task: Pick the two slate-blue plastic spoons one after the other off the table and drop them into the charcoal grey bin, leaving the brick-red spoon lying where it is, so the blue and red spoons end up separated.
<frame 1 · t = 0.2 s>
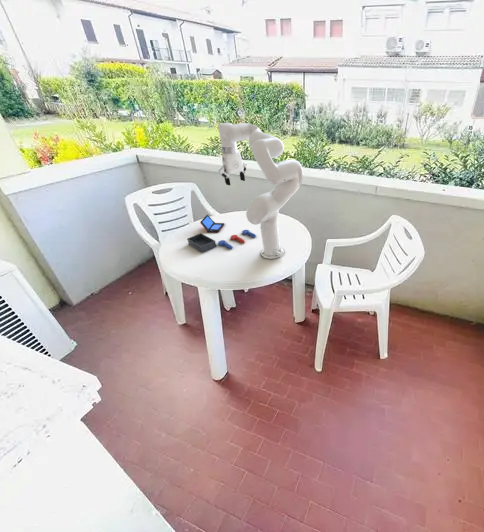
hand: (235, 182, 155), 37 cm above the table, tool pointing down, fingers open, 9 cm apart
blue spoon 2: (251, 235, 180), on the table
red spoon: (240, 241, 175), on the table
handheld console: (213, 228, 189), on the table
bin: (202, 245, 170), on the table
blue spoon 1: (227, 247, 169), on the table
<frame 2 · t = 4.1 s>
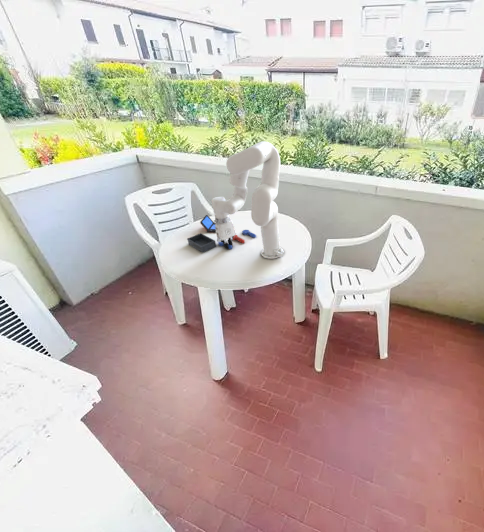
hand: (228, 247, 168), 0 cm above the table, tool pointing down, fingers closed on blue spoon 1, 2 cm apart
blue spoon 1: (227, 247, 169), on the table, touching gripper
everything else where it was.
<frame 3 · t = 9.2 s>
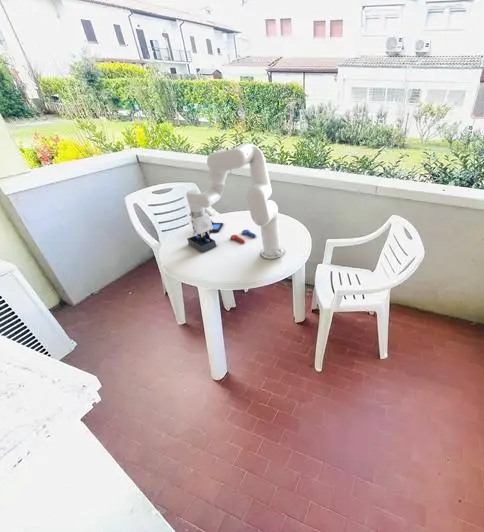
hand: (206, 241, 168), 3 cm above the table, tool pointing down, fingers closed on blue spoon 1
blue spoon 1: (205, 241, 169), point 3 cm above the table, touching gripper
everything else where it was.
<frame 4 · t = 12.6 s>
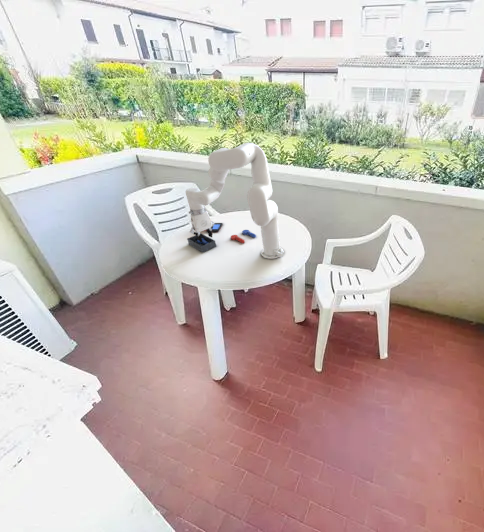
hand: (205, 238, 167), 5 cm above the table, tool pointing down, fingers open, 6 cm apart
blue spoon 1: (206, 244, 170), resting on bin
everything else where it was.
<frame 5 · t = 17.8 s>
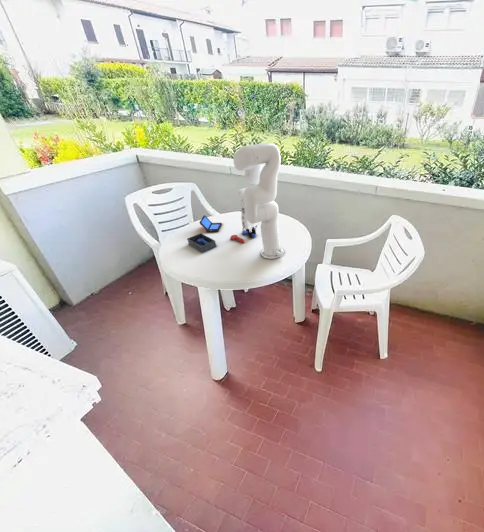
hand: (252, 235, 180), 0 cm above the table, tool pointing down, fingers closed on blue spoon 2, 2 cm apart
blue spoon 2: (251, 235, 180), on the table, touching gripper
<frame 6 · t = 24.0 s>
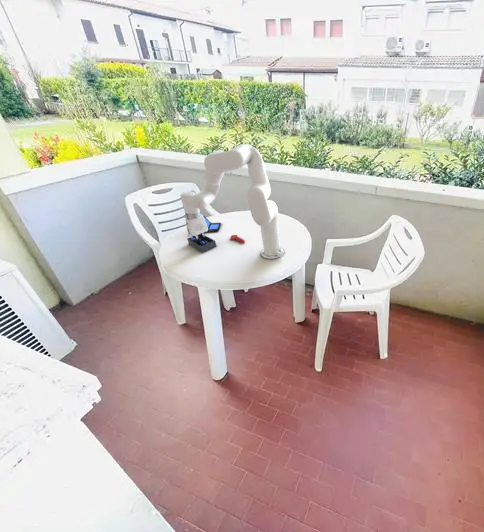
hand: (201, 243, 166), 3 cm above the table, tool pointing down, fingers closed on blue spoon 2, 2 cm apart
blue spoon 2: (200, 242, 167), point 3 cm above the table, touching gripper
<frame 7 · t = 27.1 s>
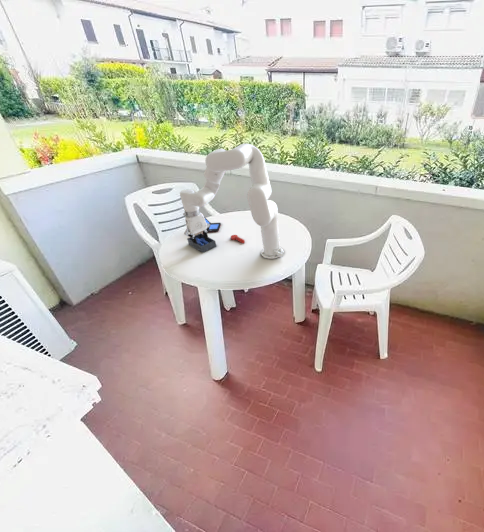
hand: (200, 240, 165), 5 cm above the table, tool pointing down, fingers open, 6 cm apart
blue spoon 2: (202, 245, 168), point 1 cm above the table, tilted 32°, touching bin, blue spoon 1
blue spoon 1: (206, 244, 170), point 1 cm above the table, touching bin, blue spoon 2
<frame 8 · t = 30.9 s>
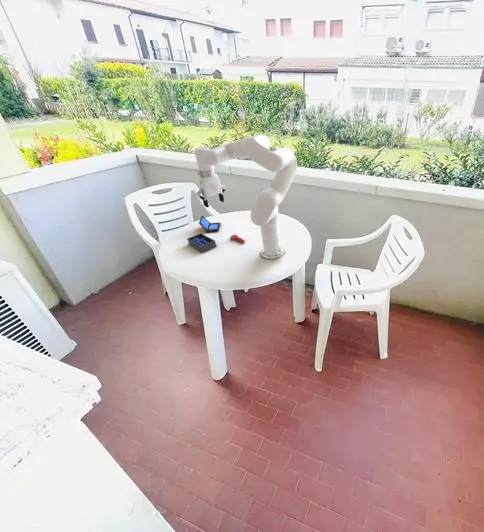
hand: (214, 204, 156), 26 cm above the table, tool pointing down, fingers open, 9 cm apart
at the end: blue spoon 1 inside the target area in the bin (1.8 cm from its centre), point 0.5 cm above the bin's base; blue spoon 2 inside the target area in the bin (1.2 cm from its centre), point 1.0 cm above the bin's base; red spoon moved 0.0 cm from its start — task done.
